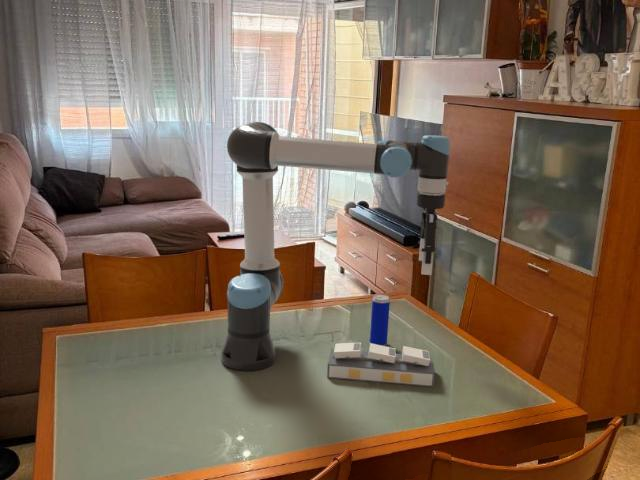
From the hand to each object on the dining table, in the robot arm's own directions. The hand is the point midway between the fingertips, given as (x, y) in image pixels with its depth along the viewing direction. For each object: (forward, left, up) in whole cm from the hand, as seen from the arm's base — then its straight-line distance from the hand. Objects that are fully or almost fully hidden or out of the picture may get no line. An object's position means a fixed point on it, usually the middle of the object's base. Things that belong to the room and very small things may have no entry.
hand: (424, 267), depth 173 cm
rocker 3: (-2, -14, -22) cm, 26 cm away
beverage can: (-12, +6, -27) cm, 30 cm away
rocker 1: (-20, -14, -22) cm, 32 cm away
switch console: (-11, -14, -27) cm, 32 cm away
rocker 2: (-11, -14, -22) cm, 28 cm away
